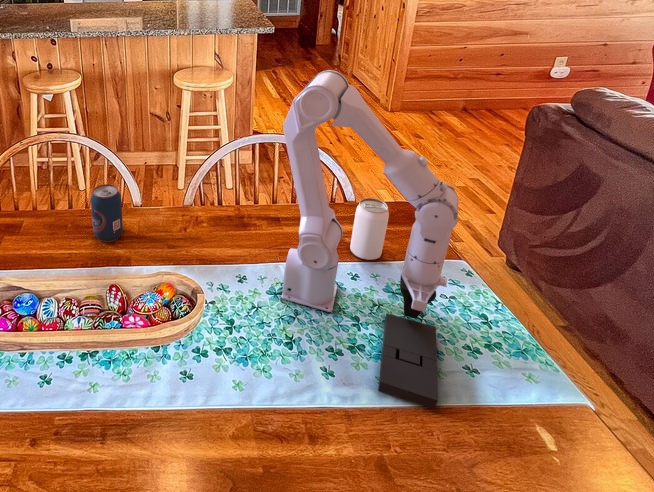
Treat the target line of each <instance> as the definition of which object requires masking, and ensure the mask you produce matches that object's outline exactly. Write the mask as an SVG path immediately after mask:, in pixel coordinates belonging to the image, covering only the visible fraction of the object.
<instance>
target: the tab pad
mask: <svg viewBox="0 0 654 492" xmlns="http://www.w3.org/2000/svg"><path fill="white" fill-rule="evenodd" d="M383 345H385V346H389V347H392V348H395V349H396V359H397V360H401V361H404V362H407V363H410V364H414V365H417V366H420V367H421V362H422V358H423V357H426V358H429V359H433V360H436V361H438V351H437V350H438V349H437V326H435V325H431V324H427V323H424V322H420V321H416V320H413V319H411V318H410V319H409V318H405V317H402V316H399V315H395V314H391V313H388V312H387V313H385V318H384V327H383V337H382V349H383ZM382 349H381V350H382Z"/></svg>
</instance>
